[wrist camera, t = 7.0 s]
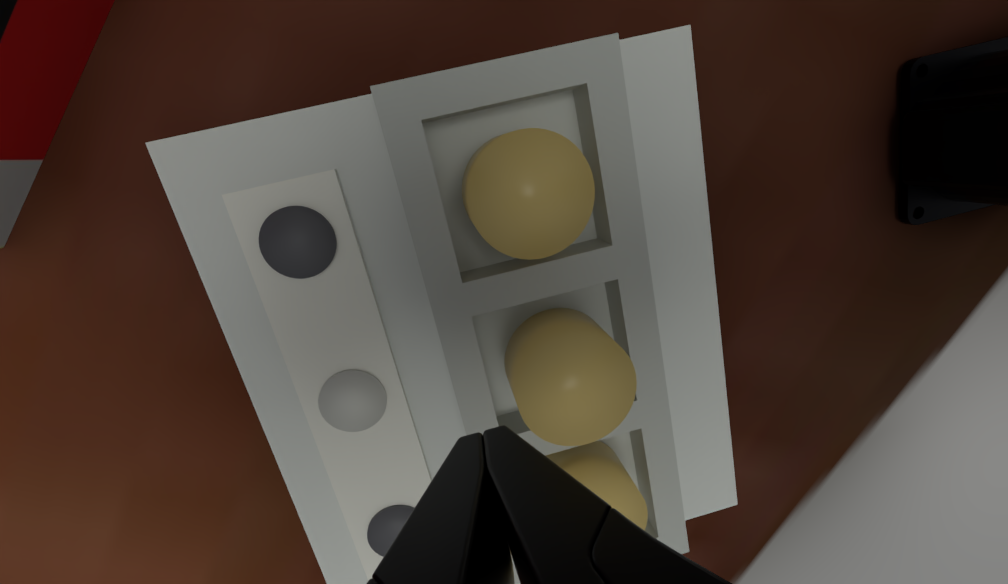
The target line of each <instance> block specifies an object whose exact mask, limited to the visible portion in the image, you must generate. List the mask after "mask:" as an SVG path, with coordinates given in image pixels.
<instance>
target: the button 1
mask: <svg viewBox="0 0 1008 584" xmlns="http://www.w3.org/2000/svg"><path fill="white" fill-rule="evenodd" d="M462 198H463V204H464V207H465V210H466V212H467V214H468V217H469V218H470V220H471V221H472V223H473V224H474V226H475V227H476V229H477V230H478V232H479V233H480V235H481V236H482V237H483V238H484V239H485V241H486V242H487V243H489V244H490V245H491V246H492V247H493V248H495V249H496V250H498V251H499V252H501V253H503V254H505V255H508V256H511V257H514V258H518V259H527V260H532V259H541V258H546V257H549V256H552V255H554V254H556V253H559V252H560V251H562V250H564V249H565V248H567V247H568V246H569V245H570V244H572V243H573V242H574V241H575V240H576V239H577V238H578V237H579V235H580V234H581V233H582V231H583V230H584V228H585V227H586V225H587V223H588V221H589V219H590V216H591V213H592V210H593V206H594V199H595V185H594V179H593V174H592V171H591V168H590V166H589V164H588V162H587V160H586V158H585V156H584V155H583V154H582V152H581V151H580V150H579V149H578V147H577V146H576V145H575V144H574V143H572V142H571V141H570V140H569V139H567V138H566V137H564V136H562V135H560V134H558V133H556V132H554V131H550V130H546V129H540V128H525V129H519V130H516V131H512V132H509V133H505V134H502V135H499V136H496V137H494V138H492V139H490V140H489V141H487V142H486V143H484V144H483V145H482V146H481V147H480V148H479V149H478V150H477V151H476V152H475V153H474V154H473V156H472V157H471V159H470V161H469V162H468V164H467V166H466V169H465V172H464V176H463V180H462Z"/></svg>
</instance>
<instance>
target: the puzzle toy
mask: <svg viewBox="0 0 1008 584" xmlns="http://www.w3.org/2000/svg"><path fill="white" fill-rule="evenodd" d="M114 1H115V0H0V248H4V246H5V244H6V242H7V239H8V237H9V235H10V233H11V231H12V228H13V226H14V224H15V222H16V219H17V217H18V215H19V213H20V210H21V208H22V206H23V204H24V201H25V199H26V197H27V195H28V193H29V190H30V188H31V186H32V184H33V181H34V179H35V177H36V175H37V172H38V170H39V168H40V166H41V164H42V161H43V159H44V157H45V155H46V152H47V150H48V148H49V146H50V143H51V141H52V139H53V137H54V135H55V132H56V130H57V128H58V126H59V123H60V121H61V119H62V117H63V114H64V112H65V110H66V108H67V105H68V103H69V101H70V99H71V97H72V94H73V92H74V90H75V88H76V85H77V83H78V81H79V79H80V76H81V74H82V72H83V70H84V68H85V65H86V63H87V61H88V59H89V56H90V54H91V52H92V50H93V47H94V45H95V43H96V41H97V39H98V36H99V34H100V32H101V30H102V27H103V25H104V23H105V21H106V18H107V16H108V14H109V12H110V9H111V7H112V5H113V3H114Z"/></svg>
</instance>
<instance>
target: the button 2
mask: <svg viewBox="0 0 1008 584" xmlns="http://www.w3.org/2000/svg"><path fill="white" fill-rule="evenodd" d="M546 457H548V458H549V459H550V460H551V461H553V462H554V463H555V464H557V465H558V466H559V467H561V468H562V469H563V470H565V471H566V472H567V473H569V474H570V475H571V476H572V477H574V478H575V479H576V480H578V481H579V482H580V483H582V484H583V485H584V486H586V487H587V488H588V489H589V490H591V491H592V492H593V493H595V494H596V495H597V496H599V497H600V498H601V499H603V500H604V501H605V502H607V503H608V504H609V505H610V506H611V507H612V508H614V509H616V510H617V511H619V512H620V513H621V514H622V515H624V516H625V517H626V518H628V519H629V520H630V521H632V522H633V523H635V524H636V525H637V526H639V527H640V528H642V529H643V530H644V531H645V528H646V525H647V520H648V510H647V505H646V502H645V500H644V498H643V496H642V495H641V493H640V491H639V490H638V488H637V487H636V485H635V483H634V482H633V480H632V479H631V477H630V476H629V474H628V472H627V471H626V469H625V468H624V466H623V465H622V463H621V461H620V460H619V458H618V457H617V455H616V453H615V452H614V451H613V450H612V449H611V448H610V447H609V446H608V445H606V444H604V443H603V442H600V441H595V442H592V443H589V444H585V445H581V446H577V447H574V448H570V449H567V450H563V451H560V452H556V453H553V454H549V455H546Z"/></svg>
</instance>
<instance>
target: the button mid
mask: <svg viewBox="0 0 1008 584" xmlns="http://www.w3.org/2000/svg"><path fill="white" fill-rule="evenodd" d="M504 364H505V372H506V375H507V379H508V381H509V384H510V387H511V390H512V392H513V395H514V398H515V401H516V403H517V406H518V409H519V412H520V414H521V417H522V419H523V421H524V422H525V424H526V425H527V427H528V428H529V429H530V430H531V431H532V432H533V433H534V434H535V435H537V436H538V437H540V438H541V439H543V440H545V441H547V442H550V443H552V444H556V445H561V446H580V445H585V444H589V443H592V442H595V441H597V440H599V439H601V438H603V437H605V436H606V435H608V434H609V433H611V432H612V431H613V430H614V429H616V428H617V427H618V426H619V425H620V424H621V422H622V421H623V420H624V419H625V417H626V416H627V414H628V413H629V411H630V409H631V407H632V405H633V402H634V399H635V395H636V388H637V379H636V372H635V368H634V366H633V363H632V361H631V359H630V357H629V356H628V354H627V353H626V352H625V351H624V349H623V348H622V347H620V346H619V345H618V344H617V343H616V342H615V341H614V340H613V339H612V338H611V337H610V336H609V335H608V334H607V333H606V332H605V331H604V330H603V329H602V328H601V327H600V326H599V325H598V324H597V323H596V322H595V321H594V320H593V319H592V318H590V317H589V316H588V315H586V314H584V313H582V312H580V311H577V310H574V309H569V308H553V309H548V310H544V311H541V312H539V313H537V314H534V315H533V316H531V317H529V318H528V319H527V320H525V321H524V322H523V323H522V324H521V325H520V326H519V327H518V328H517V329H516V330H515V332H514V333H513V335H512V336H511V338H510V340H509V342H508V345H507V348H506V352H505V359H504Z"/></svg>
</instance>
